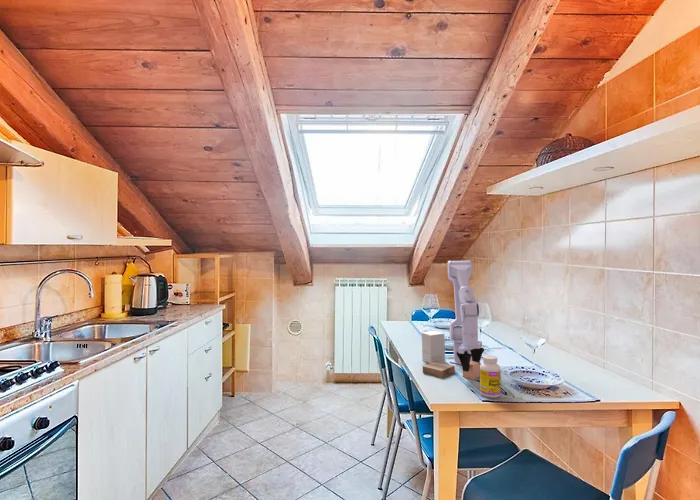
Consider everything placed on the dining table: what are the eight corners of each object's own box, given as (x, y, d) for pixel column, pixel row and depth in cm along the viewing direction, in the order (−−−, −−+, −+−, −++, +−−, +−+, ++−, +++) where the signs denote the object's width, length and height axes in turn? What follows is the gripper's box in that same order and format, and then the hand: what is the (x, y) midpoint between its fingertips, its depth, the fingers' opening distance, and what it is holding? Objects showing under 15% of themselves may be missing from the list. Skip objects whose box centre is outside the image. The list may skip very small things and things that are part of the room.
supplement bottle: (488, 399, 127) (487, 360, 127) (476, 392, 133) (475, 355, 133) (505, 397, 129) (504, 358, 129) (493, 390, 135) (492, 353, 135)
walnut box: (435, 368, 162) (435, 361, 162) (454, 373, 155) (454, 365, 155) (422, 373, 156) (422, 366, 156) (442, 378, 149) (441, 371, 149)
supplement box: (445, 362, 168) (445, 333, 168) (431, 364, 165) (430, 335, 165) (435, 358, 175) (435, 330, 175) (421, 360, 172) (421, 332, 172)
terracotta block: (468, 374, 153) (468, 360, 152) (479, 376, 149) (479, 362, 149) (462, 376, 149) (462, 362, 149) (473, 379, 146) (473, 365, 146)
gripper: (469, 338, 141) (470, 375, 141) (489, 331, 151) (489, 366, 151) (452, 335, 146) (453, 371, 147) (472, 329, 156) (473, 362, 156)
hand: (471, 368), depth 149 cm, fingers open, 7 cm apart
